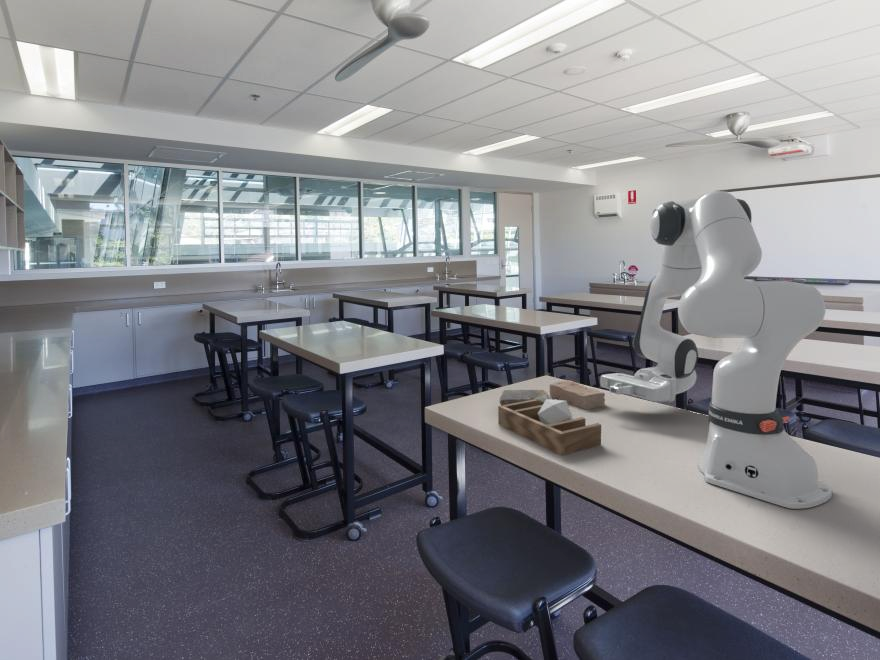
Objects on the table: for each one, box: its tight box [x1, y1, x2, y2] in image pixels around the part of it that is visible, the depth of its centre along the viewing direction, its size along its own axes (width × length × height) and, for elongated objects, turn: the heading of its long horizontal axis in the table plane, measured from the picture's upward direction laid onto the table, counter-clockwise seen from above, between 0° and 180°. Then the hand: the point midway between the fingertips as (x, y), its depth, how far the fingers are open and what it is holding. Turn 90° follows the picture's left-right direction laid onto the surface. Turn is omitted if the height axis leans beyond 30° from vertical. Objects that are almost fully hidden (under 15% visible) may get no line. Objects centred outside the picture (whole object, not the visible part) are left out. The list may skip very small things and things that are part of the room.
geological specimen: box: [499, 389, 551, 406], centre depth 149 cm, size 11×6×15 cm
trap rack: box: [497, 399, 602, 456], centre depth 130 cm, size 25×12×5 cm, turn 28°
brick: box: [549, 379, 606, 410], centre depth 158 cm, size 17×8×5 cm, turn 27°
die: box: [538, 398, 573, 425], centre depth 132 cm, size 8×9×10 cm
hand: (613, 390), depth 139 cm, fingers closed
